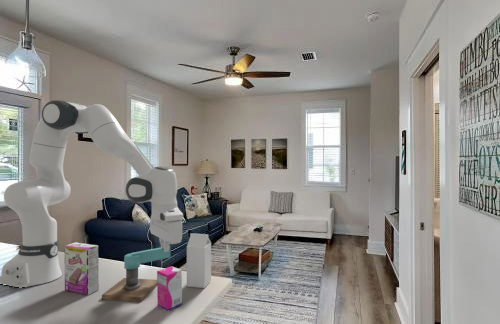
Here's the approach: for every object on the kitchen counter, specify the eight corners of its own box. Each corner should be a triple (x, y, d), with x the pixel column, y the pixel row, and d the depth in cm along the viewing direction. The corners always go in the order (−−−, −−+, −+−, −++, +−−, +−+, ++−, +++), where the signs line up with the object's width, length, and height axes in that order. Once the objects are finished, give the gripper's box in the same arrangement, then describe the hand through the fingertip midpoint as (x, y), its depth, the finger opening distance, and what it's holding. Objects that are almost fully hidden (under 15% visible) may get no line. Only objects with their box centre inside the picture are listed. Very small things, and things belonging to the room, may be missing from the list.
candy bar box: (63, 291, 105) (63, 245, 105) (75, 285, 110) (75, 241, 110) (87, 296, 102) (87, 248, 102) (99, 290, 107) (99, 244, 106)
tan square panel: (101, 299, 100) (101, 273, 100) (123, 281, 114) (124, 259, 114) (141, 301, 98) (141, 275, 98) (159, 283, 112) (159, 260, 112)
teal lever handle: (126, 270, 102) (126, 256, 102) (122, 266, 106) (122, 252, 106) (172, 260, 113) (172, 247, 112) (166, 256, 117) (166, 244, 117)
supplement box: (171, 299, 100) (171, 265, 100) (182, 304, 97) (182, 269, 96) (156, 305, 96) (156, 270, 96) (167, 311, 92) (167, 275, 92)
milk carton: (204, 288, 108) (204, 237, 108) (186, 286, 110) (186, 235, 110) (211, 280, 115) (211, 232, 115) (193, 279, 117) (194, 231, 117)
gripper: (145, 209, 112) (145, 245, 112) (167, 217, 96) (168, 260, 96) (161, 207, 116) (161, 242, 116) (185, 215, 100) (185, 256, 100)
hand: (164, 250), depth 106 cm, fingers closed
